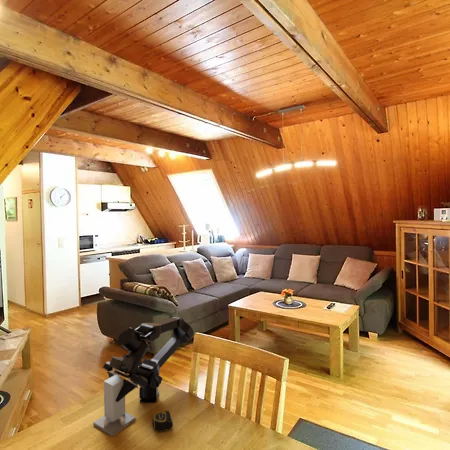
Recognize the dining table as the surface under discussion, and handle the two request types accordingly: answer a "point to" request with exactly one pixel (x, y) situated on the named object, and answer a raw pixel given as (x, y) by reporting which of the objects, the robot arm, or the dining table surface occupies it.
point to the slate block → (113, 398)
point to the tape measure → (162, 421)
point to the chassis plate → (114, 424)
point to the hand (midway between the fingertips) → (111, 398)
